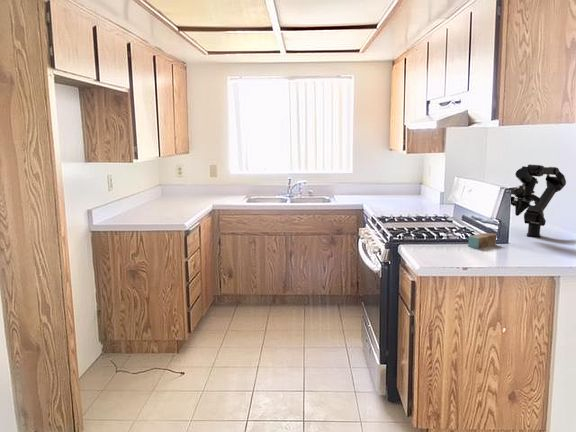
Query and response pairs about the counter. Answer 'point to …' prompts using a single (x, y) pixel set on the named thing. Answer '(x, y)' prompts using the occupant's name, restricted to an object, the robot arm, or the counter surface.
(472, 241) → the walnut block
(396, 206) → the counter surface
